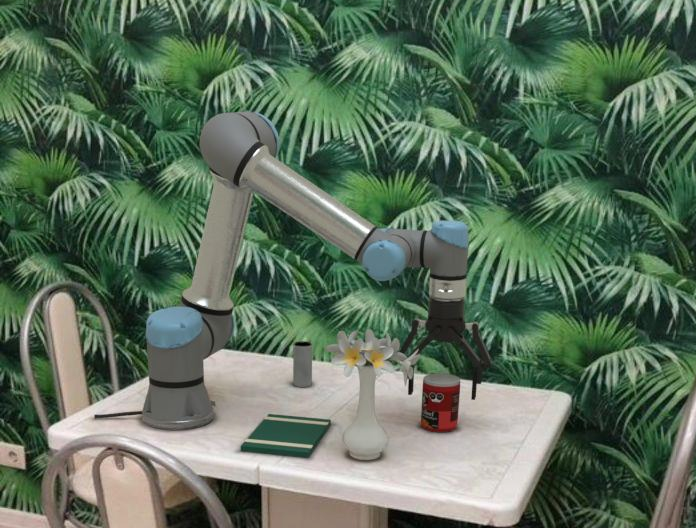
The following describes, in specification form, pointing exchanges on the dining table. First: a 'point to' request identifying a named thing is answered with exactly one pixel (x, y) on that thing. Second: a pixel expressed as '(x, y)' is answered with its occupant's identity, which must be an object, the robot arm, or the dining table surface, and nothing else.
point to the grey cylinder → (302, 364)
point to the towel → (286, 435)
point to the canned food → (440, 402)
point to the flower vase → (368, 387)
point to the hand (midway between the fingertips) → (441, 395)
